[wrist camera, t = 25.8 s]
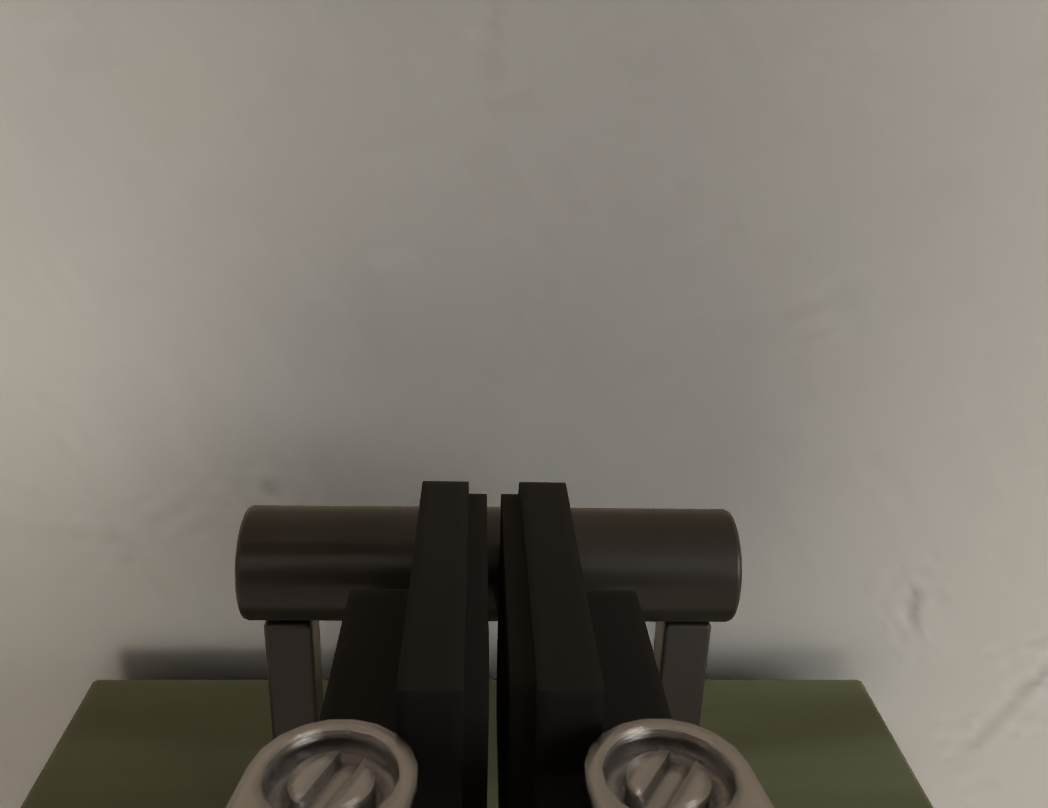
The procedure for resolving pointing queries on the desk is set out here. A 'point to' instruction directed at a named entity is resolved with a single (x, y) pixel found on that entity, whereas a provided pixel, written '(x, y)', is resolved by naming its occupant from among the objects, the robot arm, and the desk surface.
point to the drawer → (385, 563)
